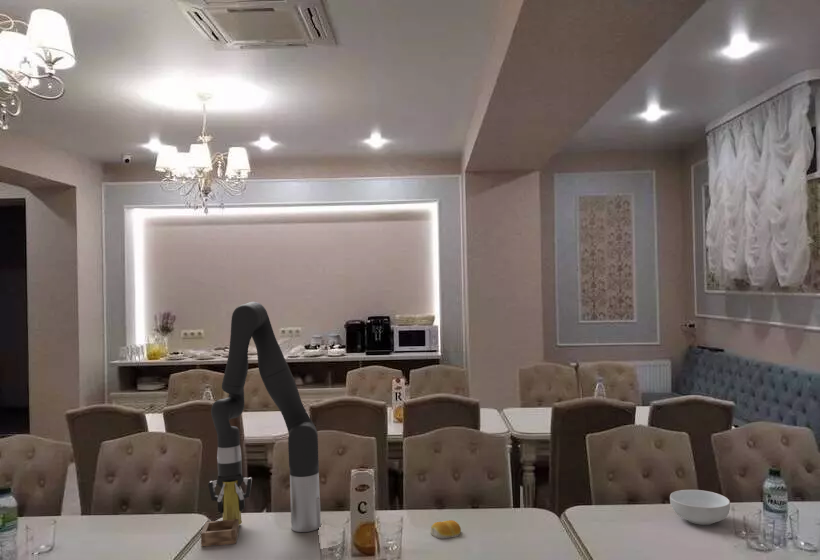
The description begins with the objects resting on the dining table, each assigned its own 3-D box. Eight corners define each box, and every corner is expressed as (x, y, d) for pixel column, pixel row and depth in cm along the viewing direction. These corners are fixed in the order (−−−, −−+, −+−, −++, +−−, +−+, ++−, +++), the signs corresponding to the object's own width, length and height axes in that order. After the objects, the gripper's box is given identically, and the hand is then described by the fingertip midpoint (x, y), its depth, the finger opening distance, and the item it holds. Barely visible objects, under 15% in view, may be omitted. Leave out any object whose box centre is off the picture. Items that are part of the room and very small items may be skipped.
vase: (236, 527, 203) (234, 482, 203) (218, 527, 204) (217, 482, 204) (245, 521, 208) (243, 477, 209) (228, 520, 210) (226, 477, 210)
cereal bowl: (670, 527, 192) (669, 503, 192) (670, 509, 208) (669, 487, 208) (733, 533, 186) (732, 508, 186) (728, 514, 201) (727, 491, 202)
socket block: (238, 531, 201) (238, 518, 201) (235, 543, 192) (235, 530, 192) (206, 534, 200) (205, 521, 200) (201, 546, 190) (200, 533, 190)
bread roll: (465, 535, 192) (465, 521, 192) (440, 541, 188) (439, 527, 188) (451, 526, 200) (451, 514, 200) (426, 532, 195) (426, 519, 196)
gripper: (253, 454, 211) (255, 505, 211) (208, 458, 209) (210, 510, 209) (251, 460, 204) (253, 513, 204) (204, 464, 202) (206, 517, 201)
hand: (231, 511), depth 206 cm, fingers closed on vase, 5 cm apart
